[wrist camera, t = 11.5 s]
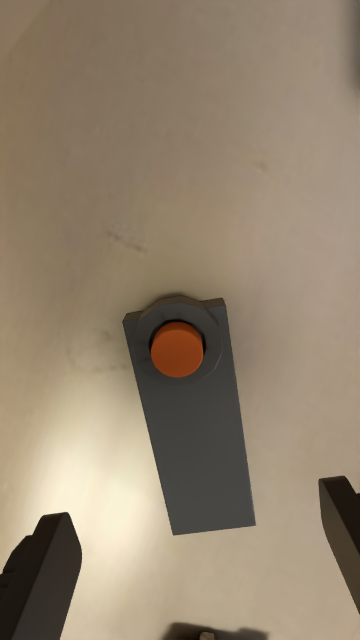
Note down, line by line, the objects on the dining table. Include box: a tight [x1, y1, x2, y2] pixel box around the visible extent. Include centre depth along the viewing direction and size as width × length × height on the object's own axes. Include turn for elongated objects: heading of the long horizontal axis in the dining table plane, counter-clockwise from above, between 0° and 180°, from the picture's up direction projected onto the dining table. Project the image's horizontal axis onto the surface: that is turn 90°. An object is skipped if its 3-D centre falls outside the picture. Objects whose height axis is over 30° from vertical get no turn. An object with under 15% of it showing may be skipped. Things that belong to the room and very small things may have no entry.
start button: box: [151, 322, 203, 377], centre depth 25 cm, size 4×4×2 cm
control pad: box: [122, 296, 256, 535], centre depth 29 cm, size 23×8×4 cm, turn 10°
